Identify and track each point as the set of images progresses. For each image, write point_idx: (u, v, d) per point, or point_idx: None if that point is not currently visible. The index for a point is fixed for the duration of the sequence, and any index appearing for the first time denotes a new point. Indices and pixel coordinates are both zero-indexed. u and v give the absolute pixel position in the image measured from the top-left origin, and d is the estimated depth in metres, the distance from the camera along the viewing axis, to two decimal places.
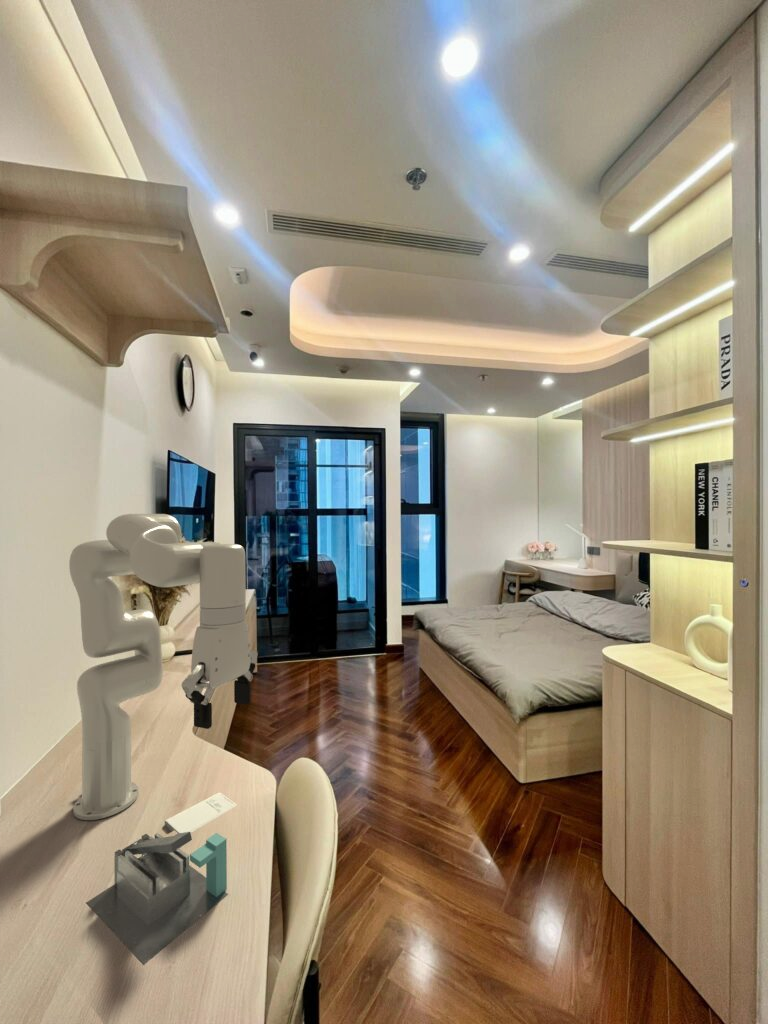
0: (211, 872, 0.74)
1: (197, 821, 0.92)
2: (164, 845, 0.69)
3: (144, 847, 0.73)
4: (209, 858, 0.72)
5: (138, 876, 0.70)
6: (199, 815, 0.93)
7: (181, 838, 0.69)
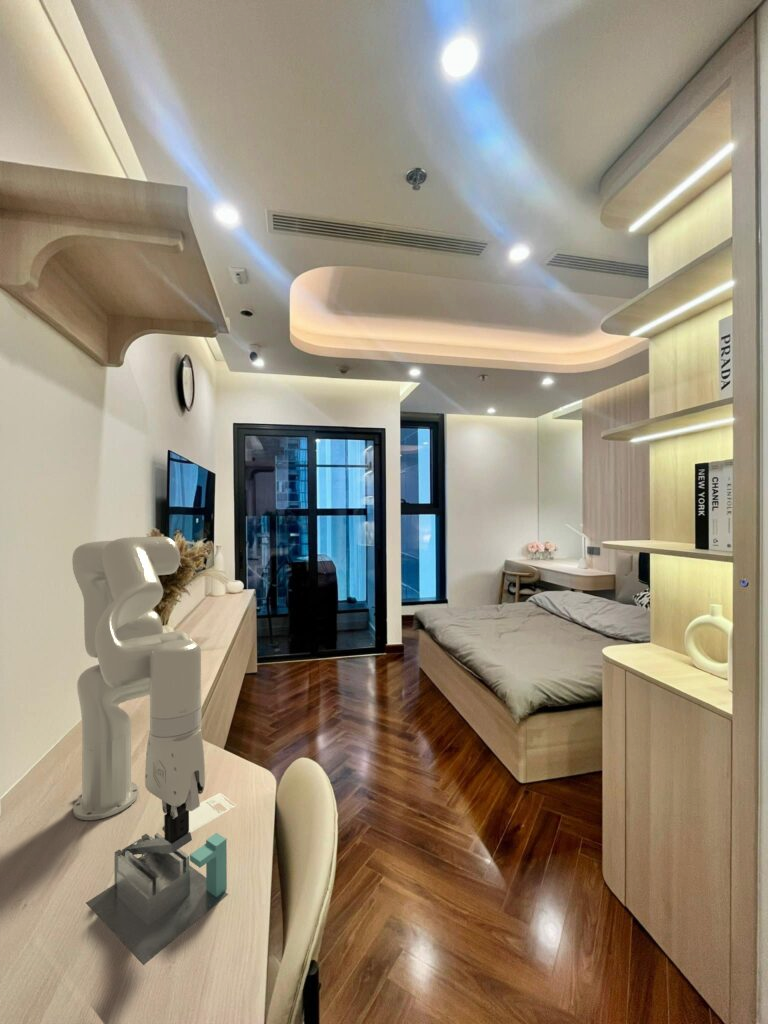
0: (211, 872, 0.74)
1: (197, 822, 0.91)
2: (164, 845, 0.69)
3: (144, 847, 0.73)
4: (209, 858, 0.72)
5: (138, 876, 0.70)
6: (199, 816, 0.93)
7: (181, 838, 0.69)
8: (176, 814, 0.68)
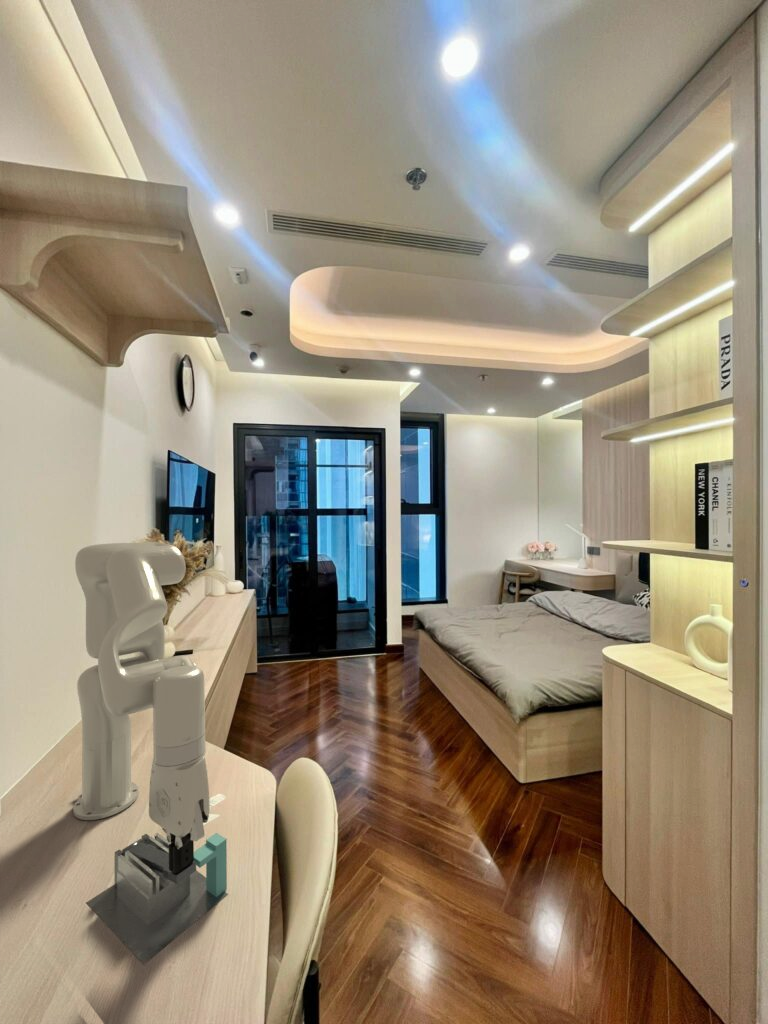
0: (211, 872, 0.74)
1: None
2: (169, 872, 0.68)
3: (146, 859, 0.73)
4: (209, 858, 0.72)
5: (138, 876, 0.70)
6: None
7: (186, 869, 0.68)
8: (180, 844, 0.67)
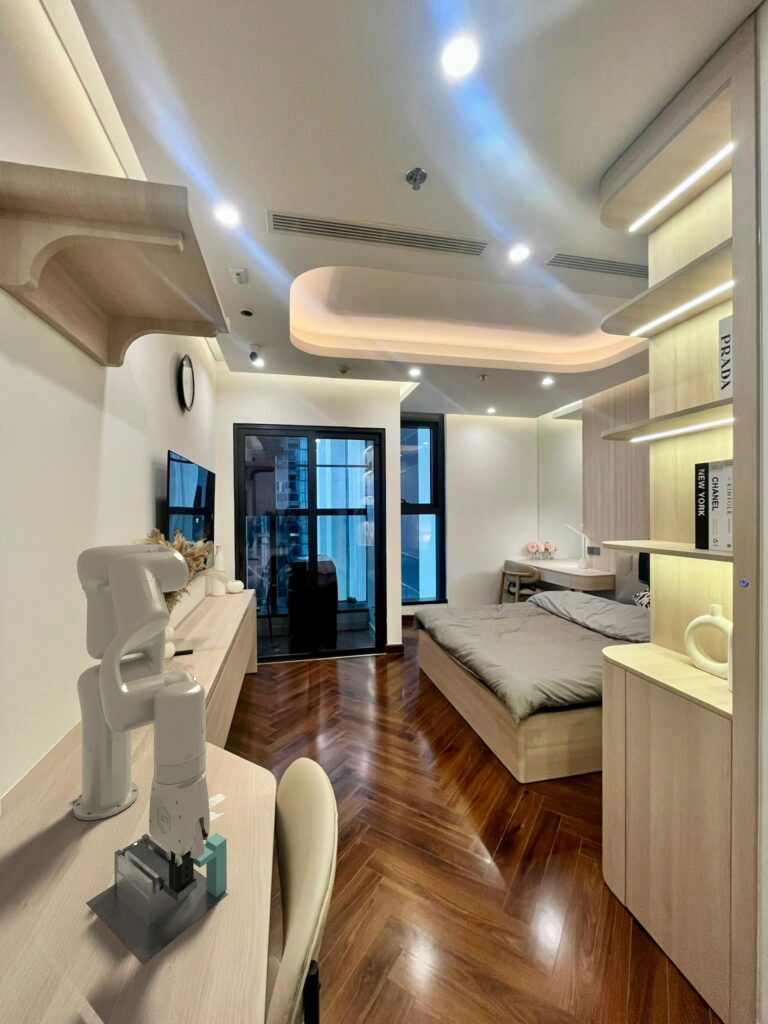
0: (211, 872, 0.74)
1: None
2: (170, 888, 0.68)
3: None
4: (209, 858, 0.72)
5: (138, 876, 0.70)
6: None
7: (188, 887, 0.68)
8: (180, 861, 0.67)
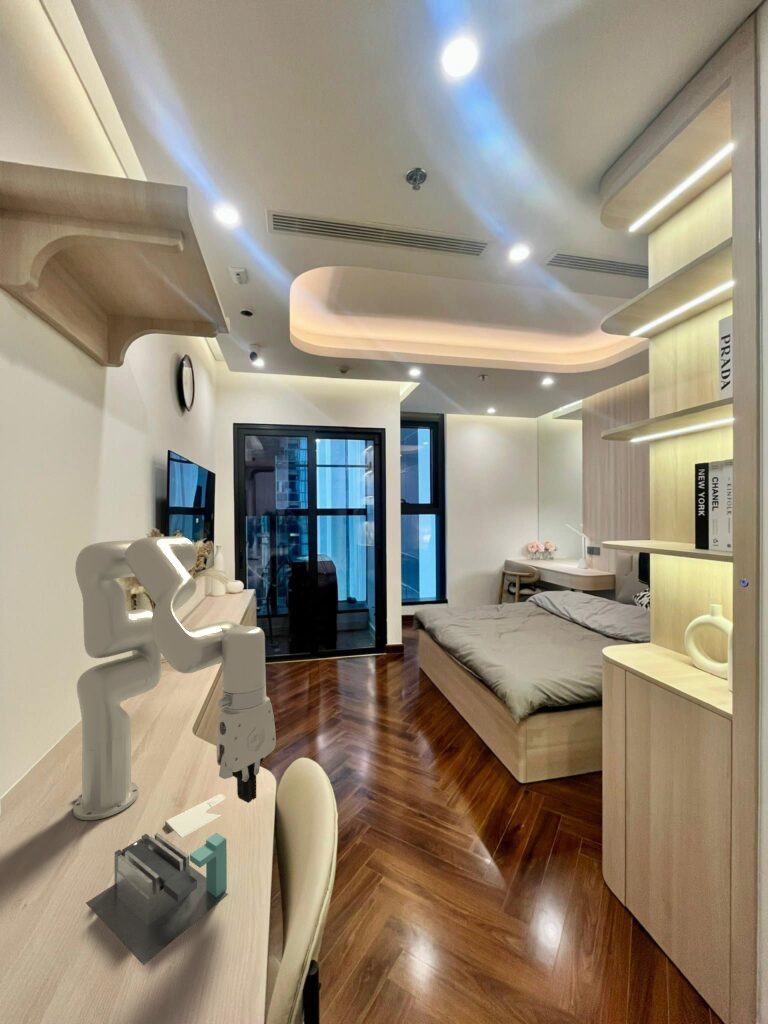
0: (211, 872, 0.74)
1: (197, 823, 0.91)
2: (170, 888, 0.68)
3: None
4: (209, 858, 0.72)
5: (138, 876, 0.70)
6: (199, 816, 0.93)
7: (188, 887, 0.68)
8: (258, 768, 0.80)
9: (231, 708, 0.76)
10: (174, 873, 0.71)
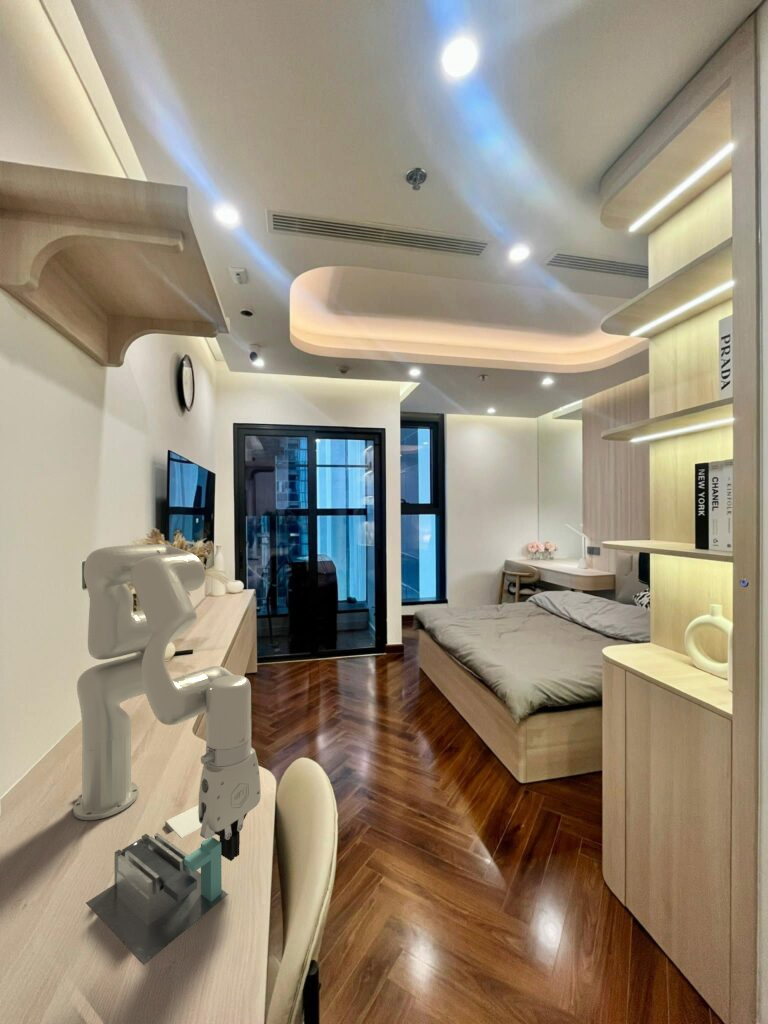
0: (206, 876, 0.73)
1: (197, 823, 0.91)
2: (170, 888, 0.68)
3: None
4: (203, 862, 0.71)
5: (138, 876, 0.70)
6: None
7: (188, 887, 0.68)
8: (242, 823, 0.78)
9: (214, 765, 0.74)
10: (174, 873, 0.71)
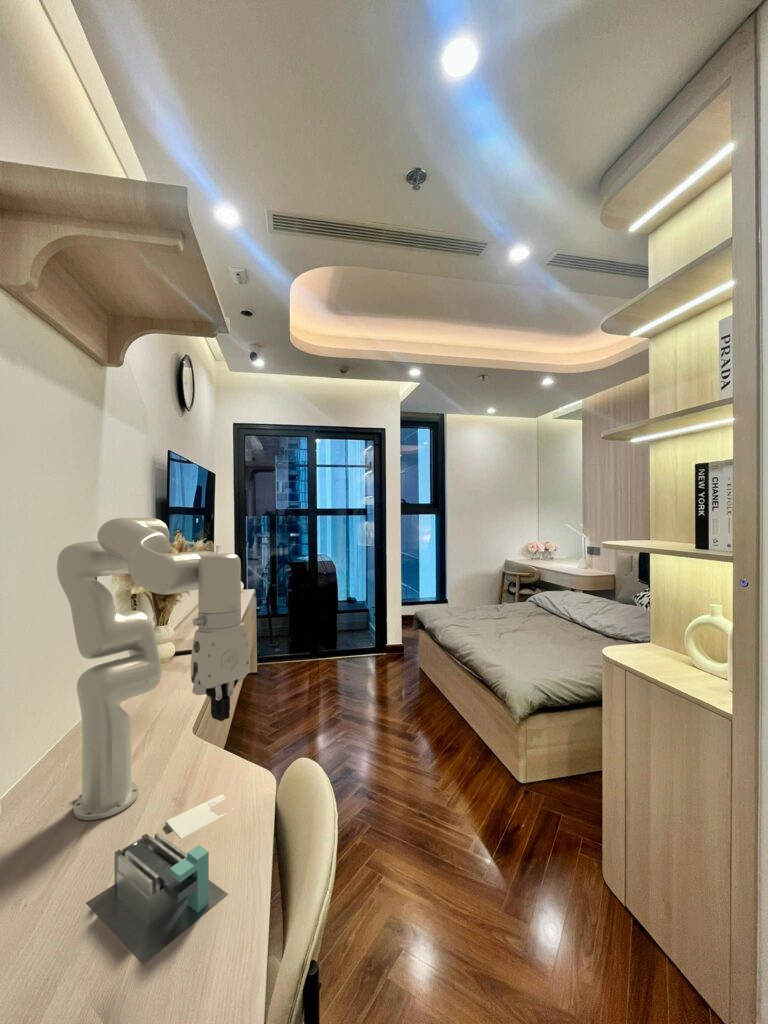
0: None
1: (196, 823, 0.91)
2: (170, 888, 0.68)
3: None
4: (190, 872, 0.69)
5: (138, 876, 0.70)
6: (199, 817, 0.93)
7: (188, 887, 0.68)
8: (232, 690, 0.83)
9: (205, 628, 0.78)
10: None
